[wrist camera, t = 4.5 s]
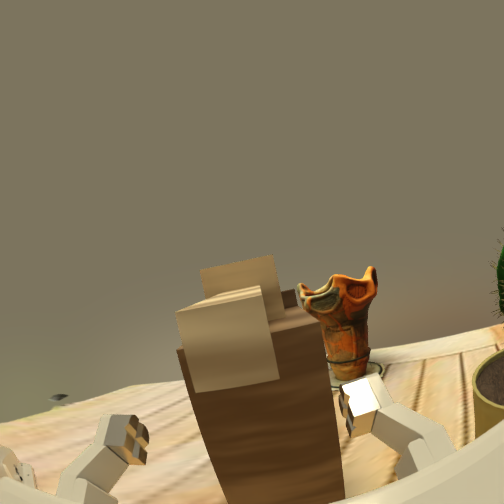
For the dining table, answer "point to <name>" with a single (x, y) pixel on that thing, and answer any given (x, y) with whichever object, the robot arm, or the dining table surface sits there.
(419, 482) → the robot arm
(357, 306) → the decorative vase
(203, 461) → the dining table surface
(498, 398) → the potted cactus
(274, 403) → the plinth
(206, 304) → the mallet
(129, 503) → the dining table surface
